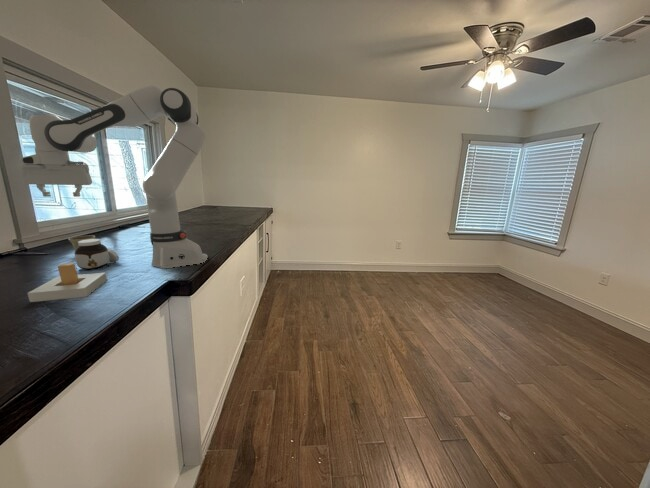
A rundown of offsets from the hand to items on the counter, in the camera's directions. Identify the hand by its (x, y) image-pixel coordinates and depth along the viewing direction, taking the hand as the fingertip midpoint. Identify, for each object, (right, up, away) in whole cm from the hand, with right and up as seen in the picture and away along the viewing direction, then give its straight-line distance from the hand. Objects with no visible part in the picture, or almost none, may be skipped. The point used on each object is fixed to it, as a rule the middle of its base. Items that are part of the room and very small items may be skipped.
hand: (62, 196), depth 102 cm
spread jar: (+9, -29, +7) cm, 31 cm away
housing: (+19, -35, -16) cm, 43 cm away
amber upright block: (+19, -35, -16) cm, 43 cm away
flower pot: (-11, -24, +22) cm, 34 cm away
